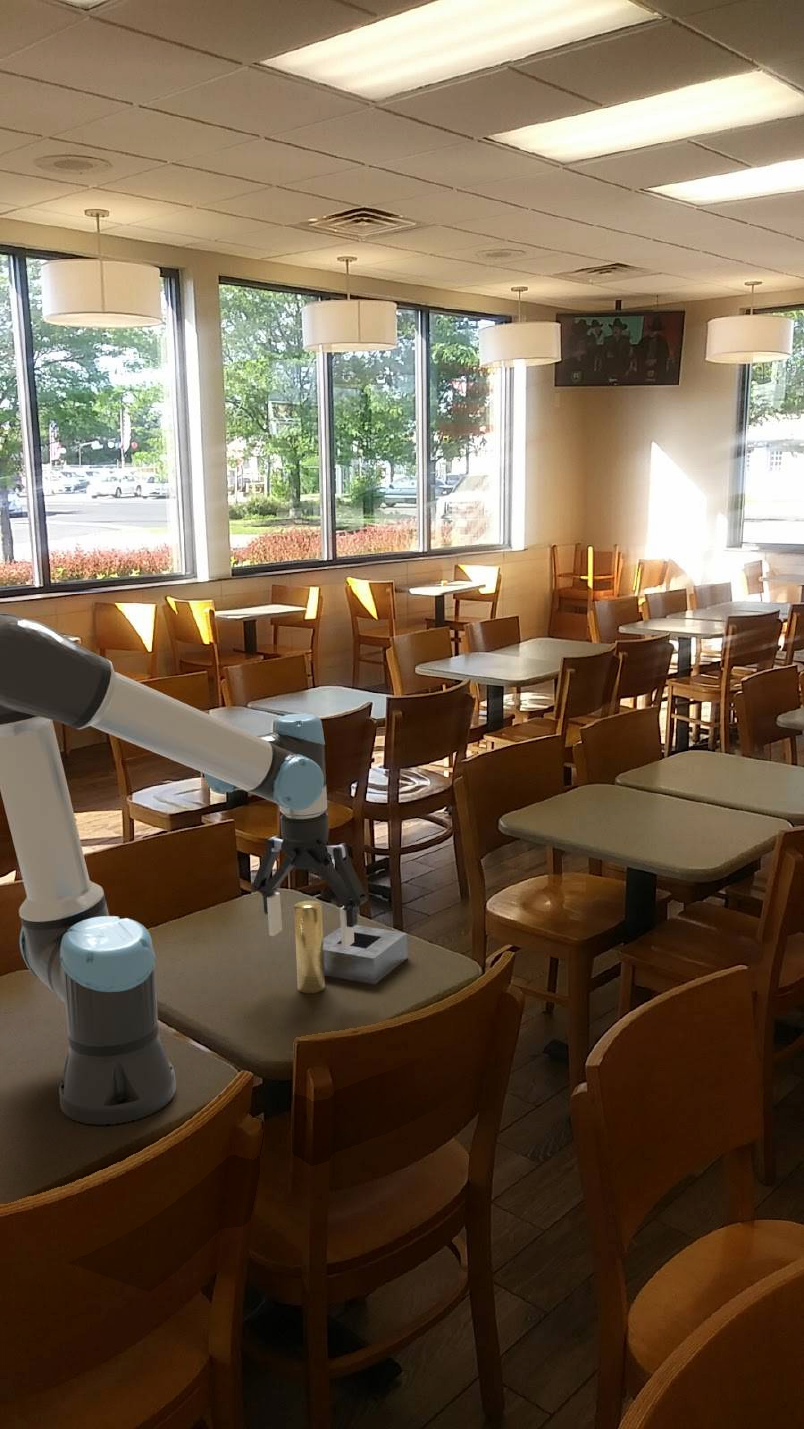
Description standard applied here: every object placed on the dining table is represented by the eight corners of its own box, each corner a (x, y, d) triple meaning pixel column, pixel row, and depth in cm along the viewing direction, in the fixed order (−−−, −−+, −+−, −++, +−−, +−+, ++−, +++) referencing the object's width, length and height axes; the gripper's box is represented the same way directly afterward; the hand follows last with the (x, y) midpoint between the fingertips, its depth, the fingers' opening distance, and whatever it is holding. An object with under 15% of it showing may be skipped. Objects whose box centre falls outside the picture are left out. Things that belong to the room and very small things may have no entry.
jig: (374, 984, 187) (373, 958, 186) (311, 972, 192) (310, 947, 191) (407, 957, 197) (406, 933, 196) (346, 947, 202) (345, 923, 202)
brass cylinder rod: (316, 994, 183) (312, 911, 181) (292, 990, 185) (288, 907, 183) (329, 984, 187) (326, 902, 185) (306, 979, 189) (303, 899, 187)
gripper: (384, 813, 178) (390, 941, 183) (251, 799, 190) (259, 920, 194) (361, 826, 172) (368, 959, 176) (224, 811, 183) (234, 936, 187)
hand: (311, 939), depth 185 cm, fingers open, 13 cm apart
